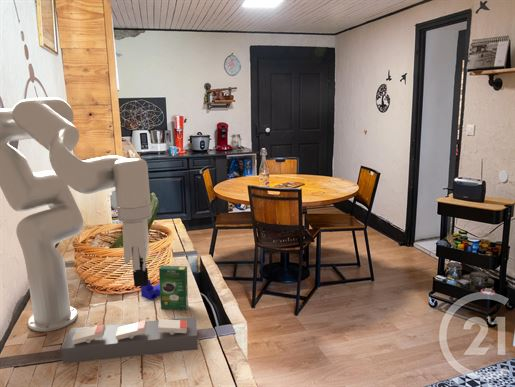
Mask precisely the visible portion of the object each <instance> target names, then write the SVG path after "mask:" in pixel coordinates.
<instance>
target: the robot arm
mask: <svg viewBox="0 0 515 387" xmlns="http://www.w3.org/2000/svg"><path fill="white" fill-rule="evenodd" d="M74 116H75V115H74V111H73V109H72V107H71V105H70V104H69V103H68V102H67V101H65V100H64V99H62V98H60V97H32V98H30V97H29V98H25V99H22V100H20V101H18V102H17V103H16V104H14V106H13V107H12V108H0V189H1V191H2V194H3V195H4V198H5V199H6V201H7V203H8V205H9V206H10V207H11V209H13V210H14V211H15V212H27V211H31V210H35V209H38V208H43V207H46V206H47V207H48V208H49V209H44V210H41V211H39V212H35V213H32V214H29V215H27V216H25V217H23V218H22V219H21V220H20V221H19V222H18V224H17V226H16V230H15V231H16V232H15V233H16V237H17V239H18V242H19V244H20V248H21V250H22V254H23V259H24V263H25V269H26V270H25V271H26V275H27V281H28V282H27V283H28V290H29V293H30V294H29V295H30V301H31V307H32V308H31V309H32V315H31V316H30V317H29V318H28V320H27V324H28V325H27V326H28V327H29V329H30V330H32V331H34V332H35V331H36V332H41V333H42V332H52V331H56V330H60V329H62V328H65V327H67V326H68V325H71V324H72V323H73V322H74V321H75V320H76V319H77V317H78V311H77V309H76V307H73V306H71V302H70V293H69V285H68V277H67V270H66V264H65V257H64V256H63V254H62V253H61V252H60V251H59V250H58V249H57V248H56V244H59V243H61V242H63V241H65V240H68V239H71V238H74V237H75V236H78V235H79V234H80V233H81V232H82V231H83V227H84V219H83V215H82V212H81V211H80V208H79V206H78V203H77V202H76V199H75V197H74V196H73V193H72V191H71V190H70V188H71V189H73V190H74V191H76V192H78V193H81V194H85V195H88V194H89V195H90V194H93V193H94V194H95V193H97V192H101V191H102V192H103V191H105V190H107V189H108V190H109V189H113V188H114V190H115V199H116V209H117V218H118V221H119V222H121V223H122V241H123V242H122V244H123V245H122V246H123V258H124V259H123V260H124V263H125V264H126V265H128V264H130V263H131V264H132V273H133V274H132V276H133V284H134V287H136V288H137V287H141V286H147V285H148V282H149V281H148V280H149V272H148V267H147V259H148V255H149V250H150V248H149V246H150V245H149V244H150V241H149V240H150V239H149V237H150V236H149V227H148V220H150V219H151V218H152V216H153V212H152V204H151V203H152V202H151V193H150V180H149V166H148V163H147V161H146V160H145V159H144V158H139V157H124V156H121V155H115V154H112V155H111V154H110V155H104V156H100V157H93V158H90V159H85V160H83V159H81V158H80V157H78V156H77V155H75V154H74V153H73V152H72V151H74V149H75V148H76V146H77V145H78V143H79V141H80V131H79V129H78V128H77V127H76V126H75V125H74V124H73V123H74V120H75V118H74ZM31 139H33V140H35V141H36V142H38V144H40V145H41V146H43V147H44V148H45V149H46V150H47V151H48V152H49V153H48V154H49V156H48V158H49V162H50V165H51V168H52V170H43V171H38V172H35V171H33V170H32V168H31V167H30V165H29V163H28V160H27V158H26V156H24V154H23V153H21V152H20V151H19V150H18V149H17V148H15V147H13V146H12V145H10V144H9V142H16V141H22V140H31Z"/></svg>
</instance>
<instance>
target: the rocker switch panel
mask: <svg viewBox="0 0 515 387" xmlns="http://www.w3.org/2000/svg"><path fill="white" fill-rule="evenodd" d="M168 320H186V321H187V332H186V333H174V334H173V335H171V334H170V332H158V324H159V319H157V320H149V321H148V320H146V323H147V327H146V333H143V334H139V335H135V336H134V337H133V338H132V339H130V338H129V337H127V338H123V339H120V340H117V339H116V332H117V328H118V327H120V326H124V325H128V324H132V323H136V322H137V321H135V322H126V323H125V322H123V323H117V324H116V323H115V324H114V323H113V324H105V327H106V329H105V332H104V335H103V337H101V338H97V339H93V340H91V342H90V343H87V342H86V341H85V342H81V343H77V344H73V342H72V339H73V337H74V334H75V332H76V331H78V330H82V329H86V328H90V327H94V326H95V325H91V326H85V327H84V326H82V327H73V328H71V327H70V328H69V331H68V333H67V335H66V338H65V339H64V341H63V344H62V346H61V348H60V352H61V360H62V364H72V363H82V362H90V361H91V362H92V361H98V360H99V361H100V360H110V359H118V358H119V359H120V358H127V357H128V358H129V357H138V356H146V355H148V356H149V355H158V354H168V353H177V352H178V353H179V352H187V351H196V350H197V351H198V350H199V348H198V346H199V343H198V327H197V316H191V317H180V318H169V319H168Z"/></svg>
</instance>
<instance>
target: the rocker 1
mask: <svg viewBox="0 0 515 387" xmlns="http://www.w3.org/2000/svg"><path fill="white" fill-rule="evenodd" d="M105 325H106V324H105V323H102V324H99V325H93V326H94V327H91V326H89V327H90V328H86V329H82V330H78V331H76V332H75V334H74V337H73V339H72V342H73V344H77V343H81V342H85V341H86V342H87V343H90V342H91V340H93V339H97V338H101V337H103V335H104V332H105V329H106V327H105Z"/></svg>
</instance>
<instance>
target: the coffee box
mask: <svg viewBox="0 0 515 387" xmlns="http://www.w3.org/2000/svg"><path fill="white" fill-rule="evenodd" d="M158 274H159V284H160V296H159V297H160V309H161V310H178V311H182V310H185V311H187V310H188V307H189V293H188V288H189V287H188V266H184V265H165V264H164V265H162V264H161V265H160V267H159V269H158Z"/></svg>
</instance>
